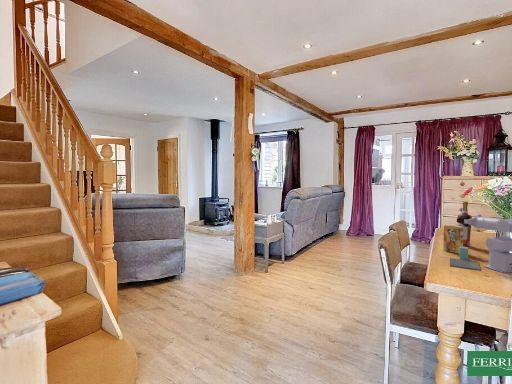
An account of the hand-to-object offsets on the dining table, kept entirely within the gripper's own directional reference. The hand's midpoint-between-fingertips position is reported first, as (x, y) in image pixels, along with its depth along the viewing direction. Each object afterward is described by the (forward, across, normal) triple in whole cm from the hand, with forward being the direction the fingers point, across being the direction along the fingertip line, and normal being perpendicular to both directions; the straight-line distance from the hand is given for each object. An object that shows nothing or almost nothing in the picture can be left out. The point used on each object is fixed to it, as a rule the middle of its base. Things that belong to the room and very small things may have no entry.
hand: (463, 220), depth 155 cm
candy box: (+11, -6, +20) cm, 24 cm away
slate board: (-9, +8, +22) cm, 25 cm away
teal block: (-2, +1, +21) cm, 21 cm away
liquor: (+21, -24, +18) cm, 37 cm away
